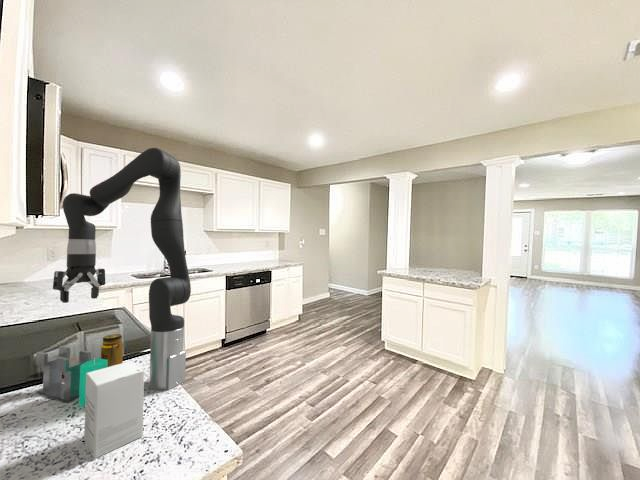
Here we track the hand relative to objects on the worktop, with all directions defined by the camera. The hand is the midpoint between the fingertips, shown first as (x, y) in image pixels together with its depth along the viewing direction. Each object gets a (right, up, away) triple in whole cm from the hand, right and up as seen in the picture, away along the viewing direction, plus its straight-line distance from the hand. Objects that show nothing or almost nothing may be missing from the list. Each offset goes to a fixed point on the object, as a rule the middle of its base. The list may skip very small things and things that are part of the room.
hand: (80, 300), depth 95 cm
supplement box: (+36, -24, -32) cm, 54 cm away
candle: (+19, -24, -18) cm, 35 cm away
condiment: (+11, -25, +1) cm, 27 cm away
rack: (+7, -24, -14) cm, 29 cm away
